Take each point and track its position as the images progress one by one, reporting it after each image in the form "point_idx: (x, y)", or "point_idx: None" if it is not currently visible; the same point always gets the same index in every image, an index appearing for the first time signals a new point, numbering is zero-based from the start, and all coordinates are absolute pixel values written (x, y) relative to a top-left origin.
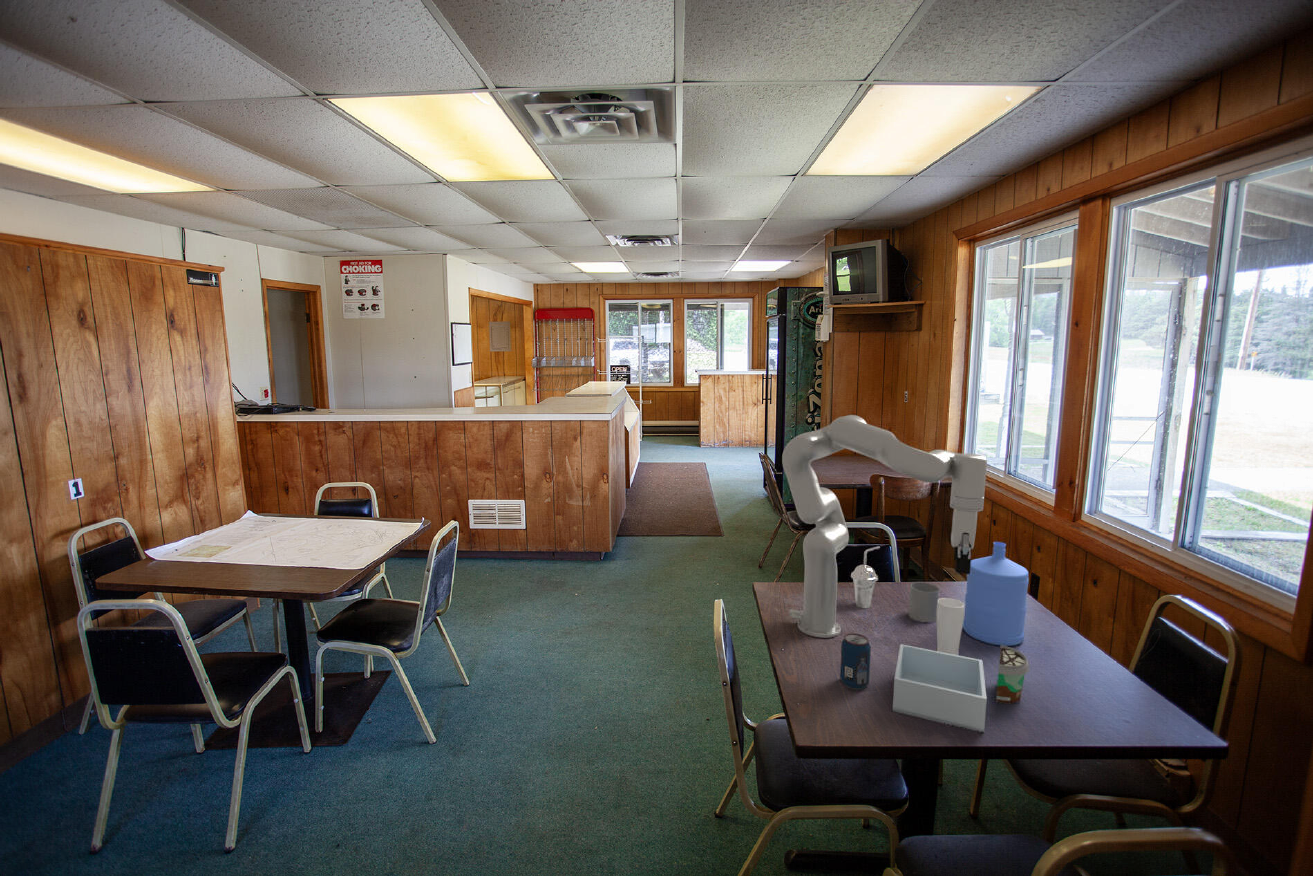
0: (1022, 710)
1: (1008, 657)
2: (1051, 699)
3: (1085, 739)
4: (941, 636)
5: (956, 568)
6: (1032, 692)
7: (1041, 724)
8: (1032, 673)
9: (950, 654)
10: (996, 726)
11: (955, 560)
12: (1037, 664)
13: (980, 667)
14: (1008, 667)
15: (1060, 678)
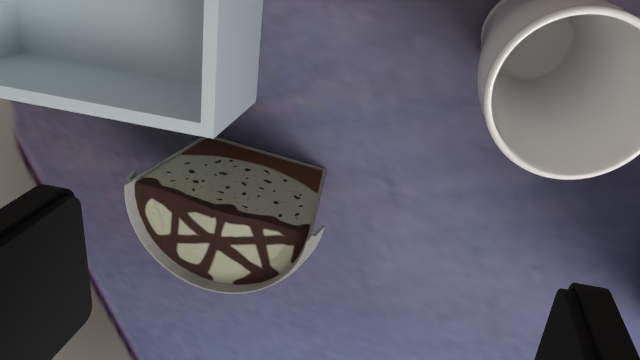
0: None
1: (227, 236)
2: (283, 287)
3: (120, 290)
4: (501, 10)
5: (14, 209)
6: None
7: None
8: (436, 293)
9: (212, 14)
10: None
11: (570, 293)
12: (509, 329)
13: (147, 116)
14: (131, 211)
15: (424, 355)
